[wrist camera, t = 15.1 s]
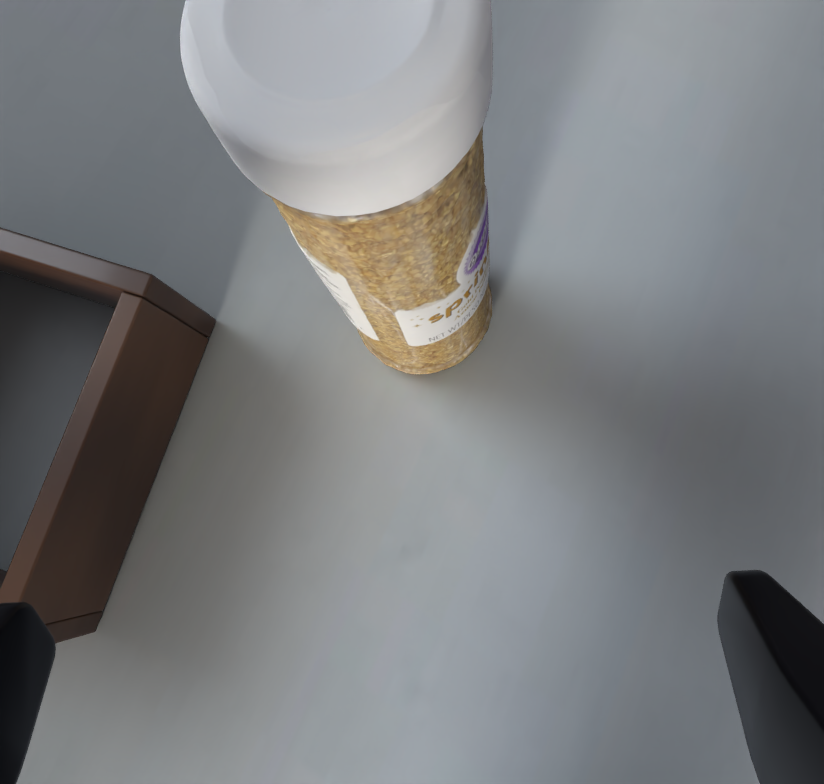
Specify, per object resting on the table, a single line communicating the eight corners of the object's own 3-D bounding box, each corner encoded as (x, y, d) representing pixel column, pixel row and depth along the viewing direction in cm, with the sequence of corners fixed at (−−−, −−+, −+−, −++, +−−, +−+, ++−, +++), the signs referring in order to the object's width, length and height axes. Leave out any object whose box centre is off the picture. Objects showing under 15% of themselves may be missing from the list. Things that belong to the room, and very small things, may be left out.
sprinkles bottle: (492, 376, 22) (492, 148, 9) (351, 376, 22) (152, 163, 9) (492, 241, 23) (492, -149, 10) (356, 244, 23) (181, -121, 10)
